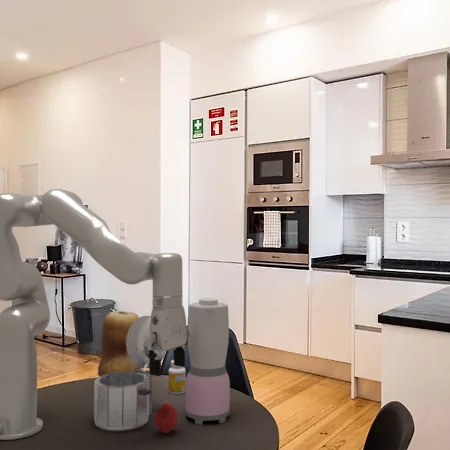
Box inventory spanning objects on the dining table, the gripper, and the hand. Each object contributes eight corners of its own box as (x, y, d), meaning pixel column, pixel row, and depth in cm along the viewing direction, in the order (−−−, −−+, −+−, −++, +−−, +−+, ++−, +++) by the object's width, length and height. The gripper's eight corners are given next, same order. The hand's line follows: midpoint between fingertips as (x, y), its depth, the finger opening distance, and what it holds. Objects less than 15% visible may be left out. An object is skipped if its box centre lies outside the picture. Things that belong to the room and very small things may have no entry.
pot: (129, 437, 122) (129, 392, 122) (77, 422, 131) (78, 380, 132) (168, 417, 136) (169, 376, 136) (119, 404, 145) (120, 366, 145)
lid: (167, 318, 138) (172, 318, 139) (128, 313, 146) (132, 313, 147) (161, 376, 135) (165, 376, 137) (121, 368, 143) (125, 368, 145)
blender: (234, 423, 131) (235, 302, 132) (188, 427, 129) (189, 303, 129) (222, 403, 147) (223, 294, 147) (181, 406, 144) (182, 295, 145)
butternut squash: (142, 396, 152) (142, 314, 153) (96, 399, 149) (97, 316, 149) (139, 382, 166) (140, 307, 166) (97, 385, 163) (98, 308, 163)
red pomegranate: (173, 438, 121) (173, 406, 122) (151, 436, 123) (151, 404, 123) (180, 429, 127) (180, 398, 127) (159, 427, 128) (159, 396, 128)
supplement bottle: (166, 390, 159) (167, 359, 159) (183, 388, 160) (183, 358, 160) (170, 395, 153) (170, 363, 154) (187, 393, 155) (187, 362, 155)
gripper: (157, 308, 116) (157, 381, 116) (199, 299, 131) (199, 364, 131) (132, 305, 120) (133, 376, 120) (176, 297, 135) (176, 360, 134)
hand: (167, 370), depth 125 cm, fingers open, 9 cm apart
